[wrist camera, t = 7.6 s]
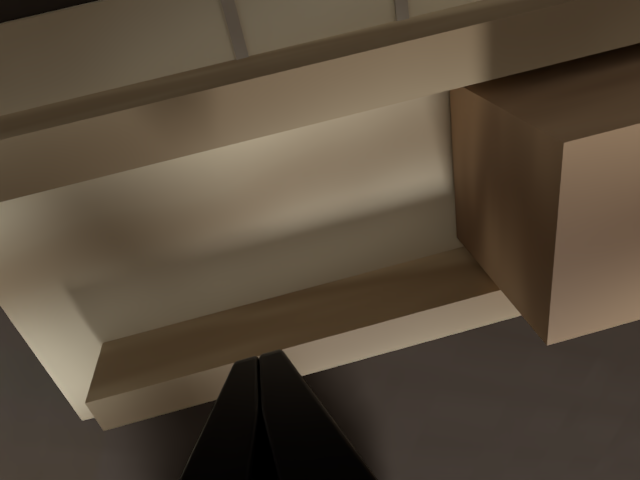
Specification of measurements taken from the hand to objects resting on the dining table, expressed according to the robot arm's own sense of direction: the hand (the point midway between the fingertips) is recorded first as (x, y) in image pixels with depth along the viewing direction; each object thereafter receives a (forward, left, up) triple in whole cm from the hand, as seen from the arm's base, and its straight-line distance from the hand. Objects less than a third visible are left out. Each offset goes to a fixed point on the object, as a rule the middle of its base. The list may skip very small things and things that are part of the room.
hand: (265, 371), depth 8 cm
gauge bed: (0, -8, -7) cm, 10 cm away
